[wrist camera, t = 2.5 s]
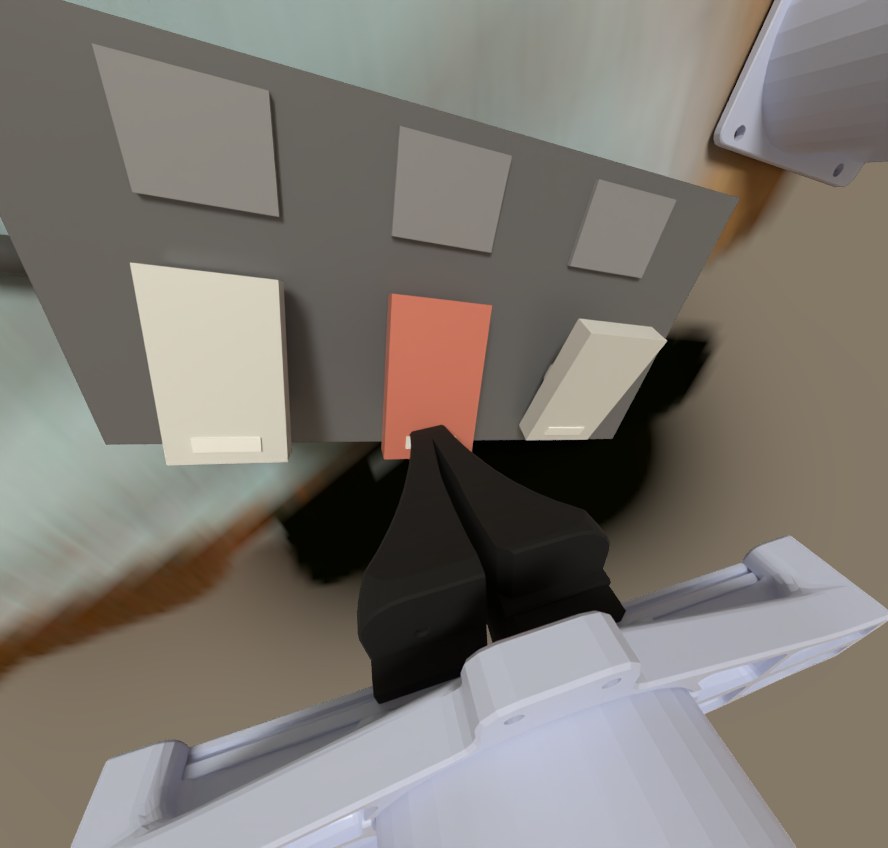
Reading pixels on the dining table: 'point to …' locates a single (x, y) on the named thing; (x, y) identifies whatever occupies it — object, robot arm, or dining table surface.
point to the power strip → (312, 218)
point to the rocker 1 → (216, 364)
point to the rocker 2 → (589, 378)
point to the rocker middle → (432, 369)
